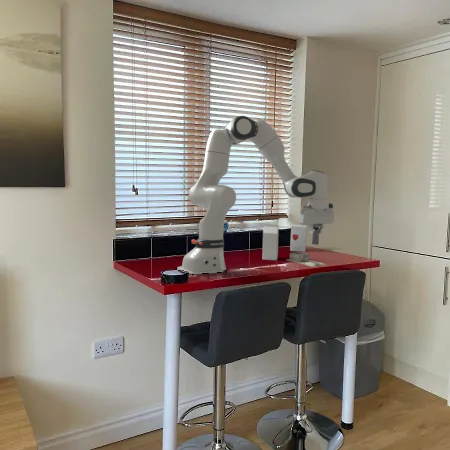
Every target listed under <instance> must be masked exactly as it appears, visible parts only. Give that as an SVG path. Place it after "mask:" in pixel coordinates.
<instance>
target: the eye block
mask: <svg viewBox="0 0 450 450" xmlns="http://www.w3.org/2000/svg"><path fill="white" fill-rule="evenodd" d="M286 261H288V262H291V263H295V264H299V265H304V266H308V267H312V268H313V267H321V266H328V265H329V264H328V263H323V262H320V261H315V260H311V259H310V253H306V252H302V251H294V252H289V259H286Z"/></svg>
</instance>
